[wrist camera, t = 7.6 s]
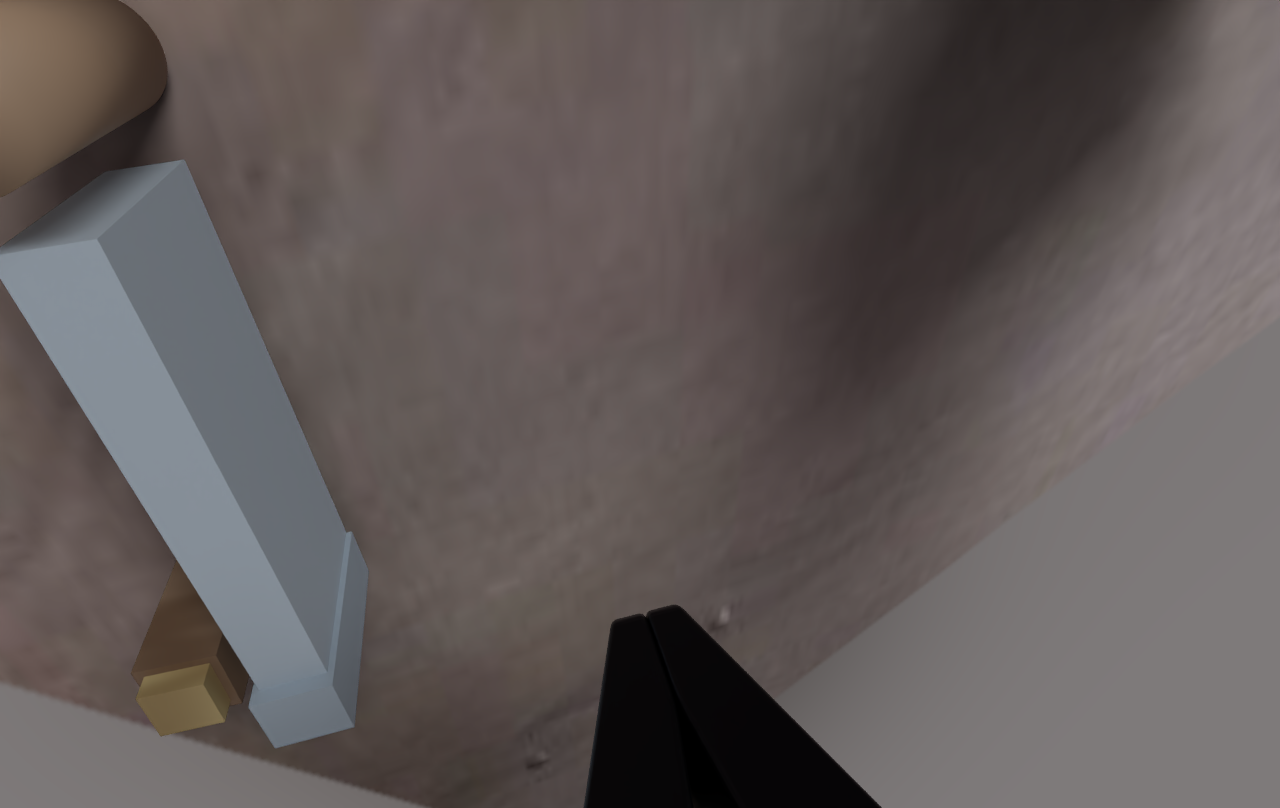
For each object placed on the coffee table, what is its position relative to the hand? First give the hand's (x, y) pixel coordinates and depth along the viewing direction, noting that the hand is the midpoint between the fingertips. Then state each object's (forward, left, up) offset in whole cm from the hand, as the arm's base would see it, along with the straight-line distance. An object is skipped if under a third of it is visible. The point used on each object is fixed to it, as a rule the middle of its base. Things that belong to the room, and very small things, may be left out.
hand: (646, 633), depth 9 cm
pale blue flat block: (+7, +1, -11) cm, 14 cm away
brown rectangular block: (+10, +7, -12) cm, 17 cm away
